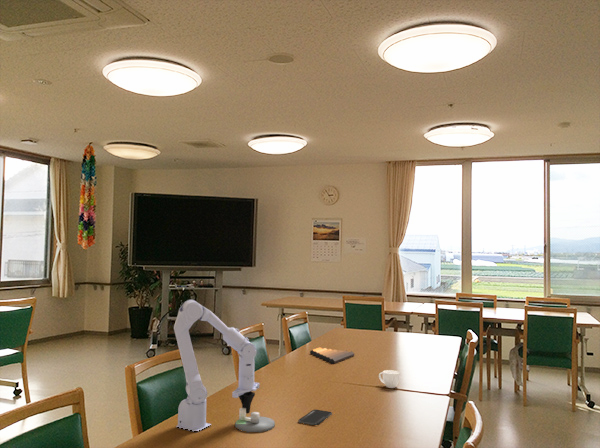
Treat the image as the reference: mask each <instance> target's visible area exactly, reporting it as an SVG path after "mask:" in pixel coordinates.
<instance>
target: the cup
mask: <svg viewBox="0 0 600 448" xmlns="http://www.w3.org/2000/svg"><path fill="white" fill-rule="evenodd" d="M400 375H401V373H400V371H399V370H393V369H386V370H383V371H382V372H379V374H378V379H379V380H380V382H381V383H382V384H384V385H385V387H386V388H389V389H394V388H396V387H397V386H398V384H399V382H400Z"/></svg>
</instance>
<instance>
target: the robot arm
mask: <svg viewBox="0 0 600 448" xmlns="http://www.w3.org/2000/svg"><path fill="white" fill-rule="evenodd" d="M198 320H200V321H201V322H202V321H203V322H207V323H209V324H210V325H211V326H213V328H215V329H216V330H218V332H220V333H221V334H222V340H223V341H224V342H225V343H226V344H227V345H228V346H230V347H231V348H232V349H233V350H234V351H236V352H237V354H238V355H239V357H238V359H239V360H238V386H237V387H236V389H235V390H234V391H232V392H231V393H232V395H231V396H232V397H231V398H235V399H238V398H239V401H240V402H241V408H246V415H247V414H250V412H251V405H252V402H253V400H254V397H255V396H256V391H257V389H260V382H256V381H255V364H256V363H255V357H256V355H257V353H258V351H257V347H256V346H255V345H254V344H253V343H252V342H250V339H249V338H248V337H245V335H243V334H242V333H241V332H240V329H239V328H237V327H236V328H235V327H234V326H231V327H228V326H227V325H226V324H225V323H224V322H223V321H222V320H221V319H220V318H219V317H218V316H217V315H216V314H215V313H213V312H212V311H211V309H208V308H207V307H205V306H203V305H202V304H200V303H199V302H197V301H196V300H194V299H187V300H186V301H184V302H183V303H182V305H181V306H180V307H179V308H178V312H177V316H176V318H175V323H174V325H173V331H174V335H175V338H176V339H175V340H176V341H177V342H176V343H177V347H178V351H179V354H180V358H181V363H182V367H183V371H184V375H185V381H186V385H185V392H186V394H187V397H186V398H185V399H183V400H181V401H180V403H179V405H178V409H177V411H178V413H177V425H175V428H177V427H179V428H178V429H181V428H183V429H182V430H185V429H188V430H187V431H190V430H192V431H191V432H194V431H198V432H200V431H202V429H203V430H205V429H206V427H207V428H208V426H209V427H211V426H212V424H211V423H208V422H207V398H208V390H207V388H206V386H204V384H203V381H202V379H201V375H200V372H199V368H198V363H197V359H196V356H195V351H194V348H193V344H192V339H191V335H190V331H189V330H190V329H191V327H192V326H193V325H194V323H195V322H197V321H198ZM210 425H211V426H210ZM204 428H205V429H204ZM199 430H200V431H199Z"/></svg>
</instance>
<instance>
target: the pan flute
mask: <svg viewBox="0 0 600 448" xmlns="http://www.w3.org/2000/svg"><path fill="white" fill-rule="evenodd" d="M309 353H310V355H313V357H316V358H319V360H322V361H325V362H326V363H329V364H331V365H335V364H337V363H340V362H343V361H346V360H349V359H351V358H352V357H353V358H354V357H355V352H353V351H348V350H344V351H343V350H342V349H340V350H338V349H332V348H328V349H327V347H324V348H322V347H317V348H314V349H311V350H310V351H309Z"/></svg>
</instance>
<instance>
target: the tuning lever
mask: <svg viewBox="0 0 600 448" xmlns="http://www.w3.org/2000/svg"><path fill="white" fill-rule="evenodd" d="M238 413H239V416H238V420H246V421H251V423H259V416H260V412H258V411H251V413H250V417H251V418H248V417H249V416H247V413H246V408H242V407H239V412H238Z"/></svg>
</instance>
